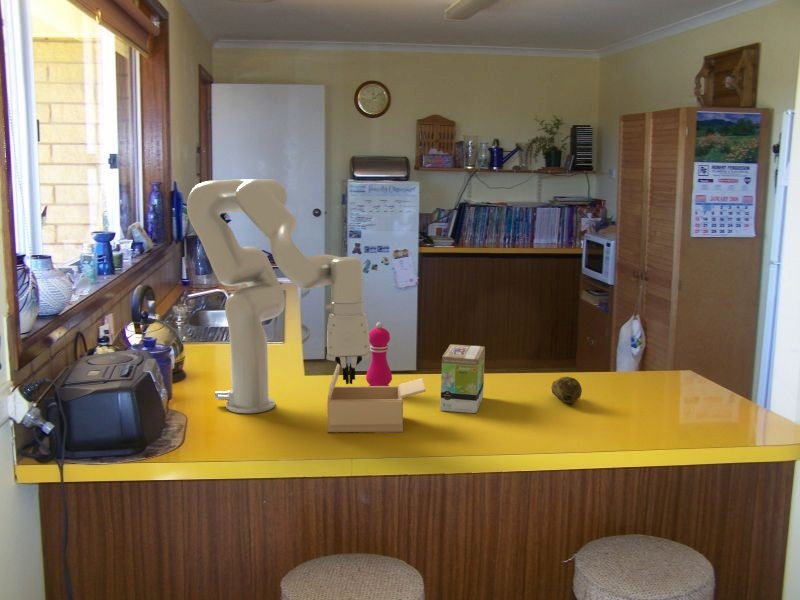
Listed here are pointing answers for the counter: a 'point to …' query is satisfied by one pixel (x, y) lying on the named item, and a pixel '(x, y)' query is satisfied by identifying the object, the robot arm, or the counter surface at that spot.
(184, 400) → the counter surface
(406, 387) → the right flap
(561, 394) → the potato
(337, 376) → the left flap
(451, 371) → the tea box
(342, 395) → the carton
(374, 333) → the pepper mill
